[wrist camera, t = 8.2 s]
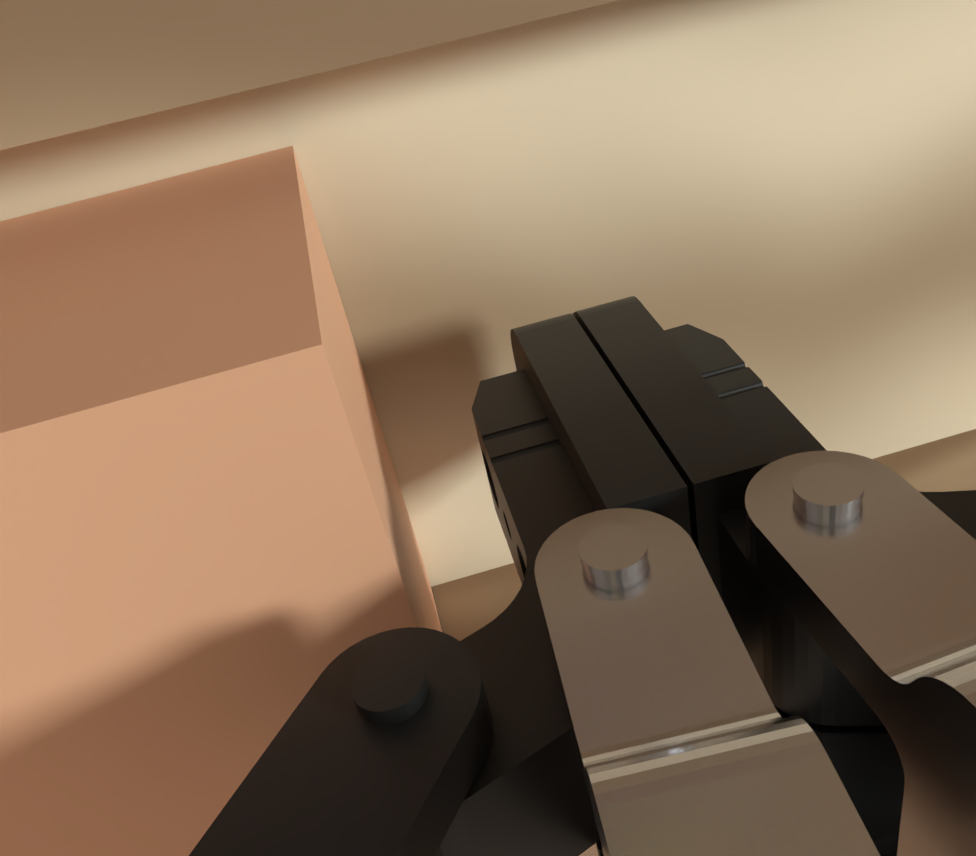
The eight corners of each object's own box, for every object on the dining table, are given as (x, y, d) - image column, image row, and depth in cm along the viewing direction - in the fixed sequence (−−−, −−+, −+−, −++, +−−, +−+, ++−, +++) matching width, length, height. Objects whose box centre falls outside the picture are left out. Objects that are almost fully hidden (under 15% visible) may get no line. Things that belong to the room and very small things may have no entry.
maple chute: (-646, 49, 9) (-972, 129, 7) (1633, -457, 11) (2024, -538, 9) (-53, 762, 16) (-109, 935, 13) (1321, 360, 18) (1494, 445, 15)
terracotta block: (-432, 334, 10) (-902, 683, 6) (292, 144, 11) (321, 343, 7) (-85, 735, 14) (-222, 1113, 10) (429, 583, 15) (503, 879, 10)
